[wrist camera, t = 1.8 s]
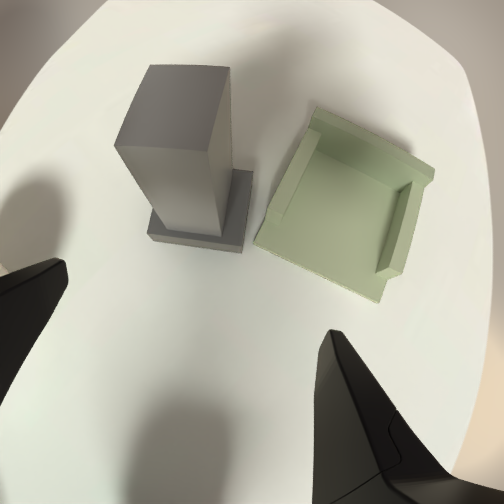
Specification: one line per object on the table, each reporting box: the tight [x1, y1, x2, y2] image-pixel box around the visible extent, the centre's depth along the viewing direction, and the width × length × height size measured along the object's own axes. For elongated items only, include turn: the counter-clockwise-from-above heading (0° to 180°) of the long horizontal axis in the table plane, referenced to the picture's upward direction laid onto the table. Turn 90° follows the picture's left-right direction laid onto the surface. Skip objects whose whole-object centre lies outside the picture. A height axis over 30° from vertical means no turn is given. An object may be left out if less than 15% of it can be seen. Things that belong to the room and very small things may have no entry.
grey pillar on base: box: [114, 65, 253, 253], centre depth 18 cm, size 6×7×13 cm
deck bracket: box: [253, 107, 435, 303], centre depth 23 cm, size 11×11×4 cm
